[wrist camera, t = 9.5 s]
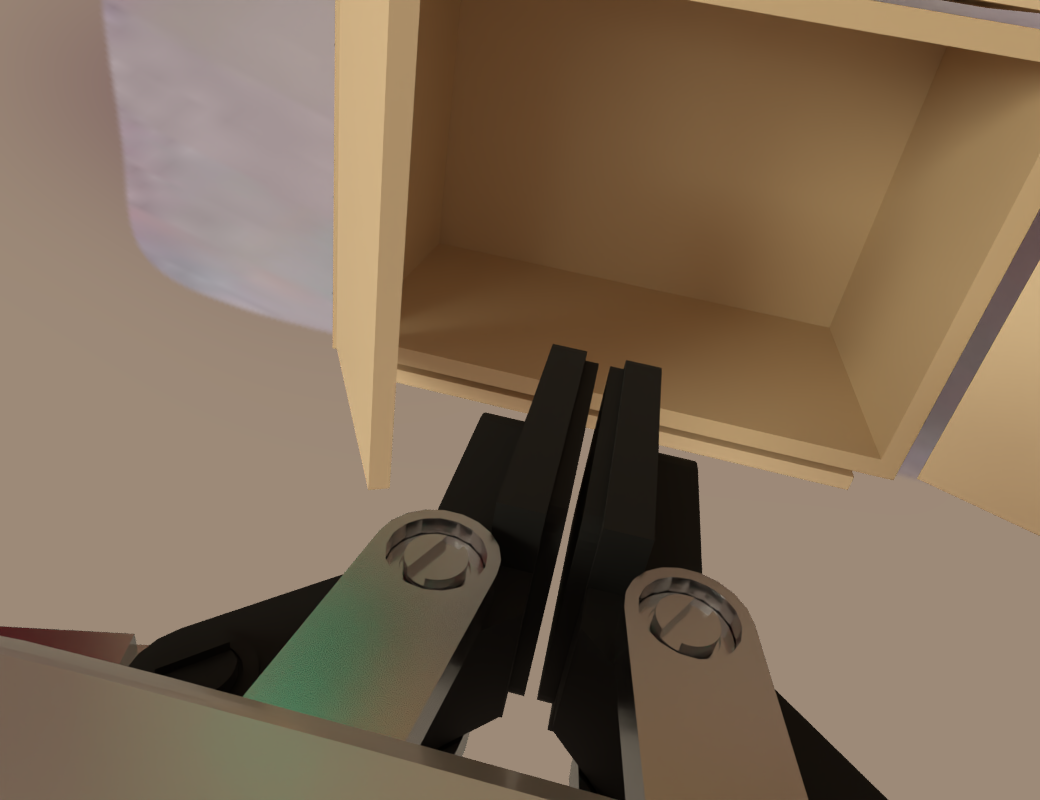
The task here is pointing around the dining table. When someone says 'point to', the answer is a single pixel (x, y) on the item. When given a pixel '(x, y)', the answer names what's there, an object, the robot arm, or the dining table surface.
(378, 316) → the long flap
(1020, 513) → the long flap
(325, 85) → the dining table surface
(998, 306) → the dining table surface
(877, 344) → the carton
